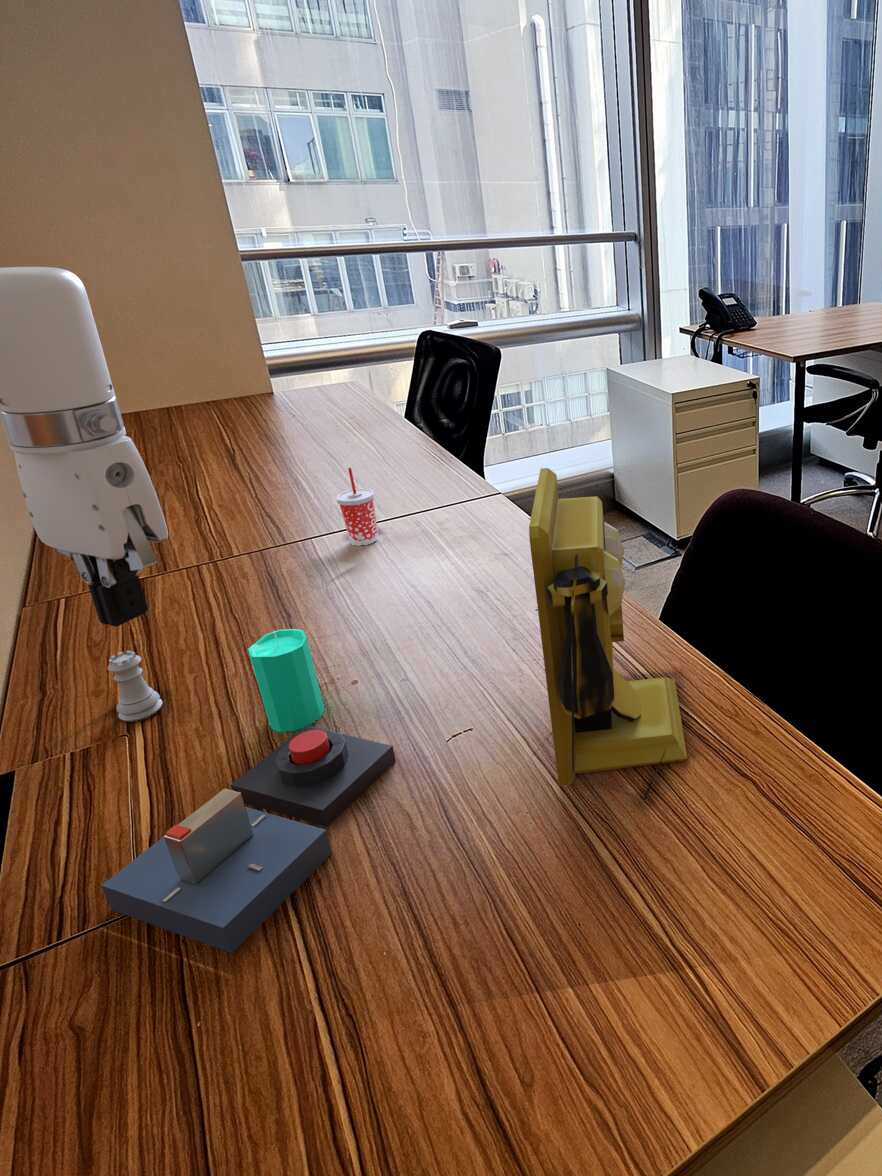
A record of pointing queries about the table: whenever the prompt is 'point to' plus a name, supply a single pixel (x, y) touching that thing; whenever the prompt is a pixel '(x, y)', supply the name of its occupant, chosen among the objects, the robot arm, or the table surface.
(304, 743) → the button
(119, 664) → the rook chess piece
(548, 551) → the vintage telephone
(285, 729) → the candle
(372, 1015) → the table surface
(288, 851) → the control panel
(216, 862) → the handle
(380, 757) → the button block
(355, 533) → the beverage cup
